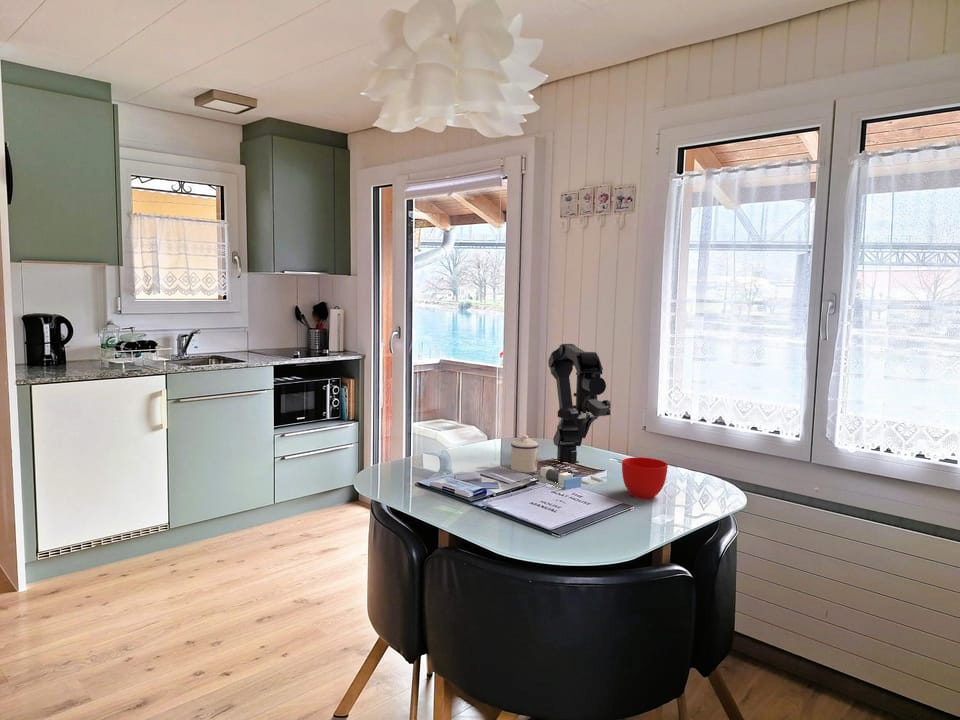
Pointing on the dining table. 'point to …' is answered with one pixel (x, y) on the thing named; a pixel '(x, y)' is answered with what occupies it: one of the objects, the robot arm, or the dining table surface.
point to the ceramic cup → (644, 476)
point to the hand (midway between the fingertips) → (583, 438)
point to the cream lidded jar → (524, 455)
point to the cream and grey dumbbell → (554, 475)
